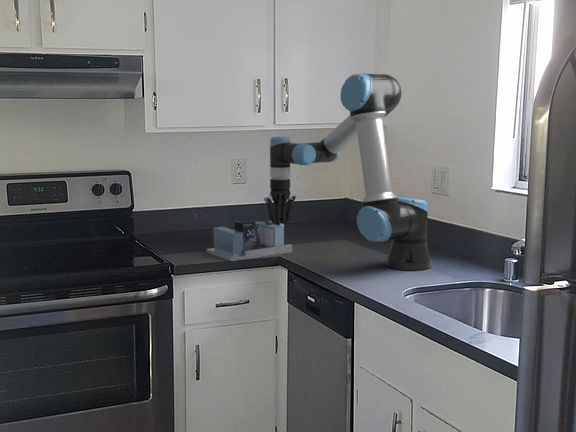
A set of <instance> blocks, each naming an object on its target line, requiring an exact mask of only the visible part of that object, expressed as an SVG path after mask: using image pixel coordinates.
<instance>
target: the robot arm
mask: <svg viewBox="0 0 576 432" xmlns="http://www.w3.org/2000/svg"><path fill="white" fill-rule="evenodd" d="M402 91H403V90H402V87H401V85H400V83H399V81H398V80H397V79H396V78H395V77H393V76H392V75H389V74H387V73H385V74H384V73H382V74H380V73H379V74H378V73H377V74H376V73H363V72H362V73H355V74H352V75H350V76H348V77H347V78H346V79H345V80H344V83H343V84H342V87H341V90H340V96H339V97H340V102H341V104H342V106H343V107H344V108H345V110H347V111H349V115H348V116H347V117H345V119H344V120H343V121H342V122H341V123H339V124H338V125H337V126H336V127H335V128H334V129H333V130H332V131H331V132H329V133H328V134H327V135H326V136H325V137H324V138H322V139H321V140H320V141H318V142H317V141H316V142H303V143H302V142H301V143H299V142H298V143H296V142H291V137H290V136H272V137H271V138H270V142H269V165H270V166H269V167H270V168H269V174H270V175H269V177H270V180H269V187H270V192H269V195H268V196H267V197H264V199H263V200H264V201H265V203H266V207H267V212H268V216H269V220H272V224H275V225H279V226H283V227H284V233H285V232H286V224H287V223H288V222H290V221H291V217H292V212H293V206H294V202H295V201H296V199H297V197H296V195H292V194H291V191H290V190H291V189H290V188H291V179H290V178H291V164H293V165H299V166H309V165H311V164H318V163H319V164H320V163H321V164H322V163H331V162H336V161H337V160H338V159H339V157H340V155H341V151H342V150H343V149H345V148H346V147H347V146H348V145H349V144H350V143H352V142H353V141H354V140H355V139H356V138H357V139H358V147H359V155H360V163H361V170H362V178H363V179H362V180H363V187H364V194H365V196H364V197H363V198H362V200H361V206H362V208H360V210H359V211H358V214H357V216H356V225H357V229H358V230H359V232H360V234H361V235H362V236H363V237H365V239H366V240H367V241H371V242H386V241H388V240H389V241H390V240H391V244H390V246H389V247H390V248H389V251H388V255H387V256H386V260H385V266H387V268H391V269H394V270H402V271H422V270H427V269H431V267H432V259H431V257H430V252H429V248H428V244H427V243H428V242H427V240H428V238H427V237H428V214H429V209H428V206H429V205H428V202H427V201H426V200H425V199H424V200H423V199H418V198H411V197H408V198H407V197H402V196H401V197H400V196H399V197H398V196H397V195H396V194H395V193H394V192H393V189H392V181H391V173H390V167H389V160H388V152H387V145H386V138H385V137H386V136H385V135H386V134H385V128H384V121H383V119H384V118H386V117H387V116H388V115H389V114H390V113H391V112H393V110H395V109H396V107H397V106H398V105H399V103H400V101H401V99H402V93H403V92H402Z"/></svg>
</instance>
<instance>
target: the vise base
mask: <svg viewBox="0 0 576 432" xmlns="http://www.w3.org/2000/svg"><path fill="white" fill-rule="evenodd" d="M206 253H207V254H210V255H213V256H216V257H219V258H222V259H224V260H227V261H230V262H234V261H242V260H248V259H256V258H262V257H268V256H269V257H270V256H276V255H284V254H290V253H293V244H291V243H290V244H284V245H281V246H274V247H265V246H262V245H260V248H259V249H252V250H244V251H243V232H239V231H236V230H235V229H232V228H229V227H225V226H217V227H213V247H212V248H206Z"/></svg>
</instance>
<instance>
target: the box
mask: <svg viewBox="0 0 576 432" xmlns="http://www.w3.org/2000/svg"><path fill="white" fill-rule="evenodd" d="M260 222H261V221H259V220H256V219H246V220H244V219H243V220H235V221H234V230H236V231H239V232H243V251H244V250H252V249H259V248H260Z"/></svg>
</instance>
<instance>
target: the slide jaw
mask: <svg viewBox="0 0 576 432" xmlns="http://www.w3.org/2000/svg"><path fill="white" fill-rule="evenodd" d="M260 245H262V246H265V247H274V246H281V245H285V232H284V227H283V226H279V225H275V223H273V222H272V220H270V219H266V220H265V221H260Z"/></svg>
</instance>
